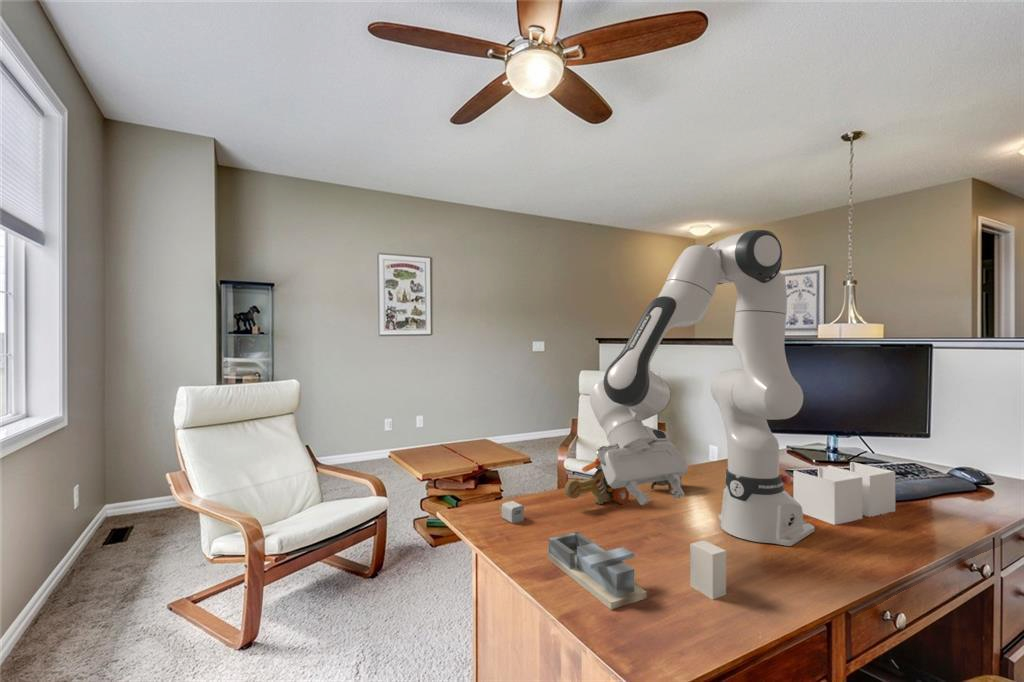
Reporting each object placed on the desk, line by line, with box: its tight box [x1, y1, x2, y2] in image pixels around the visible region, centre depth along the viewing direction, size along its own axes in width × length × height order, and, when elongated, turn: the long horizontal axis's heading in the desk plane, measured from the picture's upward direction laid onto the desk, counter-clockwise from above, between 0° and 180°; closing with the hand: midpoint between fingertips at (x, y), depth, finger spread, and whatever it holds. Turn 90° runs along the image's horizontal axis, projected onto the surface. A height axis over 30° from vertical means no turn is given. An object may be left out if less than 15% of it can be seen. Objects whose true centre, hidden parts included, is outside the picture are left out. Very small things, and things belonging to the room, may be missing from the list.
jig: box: [546, 531, 648, 611], centre depth 90 cm, size 10×21×6 cm, turn 27°
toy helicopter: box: [564, 457, 630, 505], centre depth 130 cm, size 8×21×14 cm, turn 123°
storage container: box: [792, 461, 896, 526], centre depth 126 cm, size 25×11×11 cm, turn 112°
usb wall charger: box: [498, 500, 525, 524], centre depth 120 cm, size 4×7×4 cm, turn 36°
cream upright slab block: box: [689, 539, 727, 601], centre depth 85 cm, size 4×5×8 cm
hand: (663, 499), depth 95 cm, fingers open, 8 cm apart
